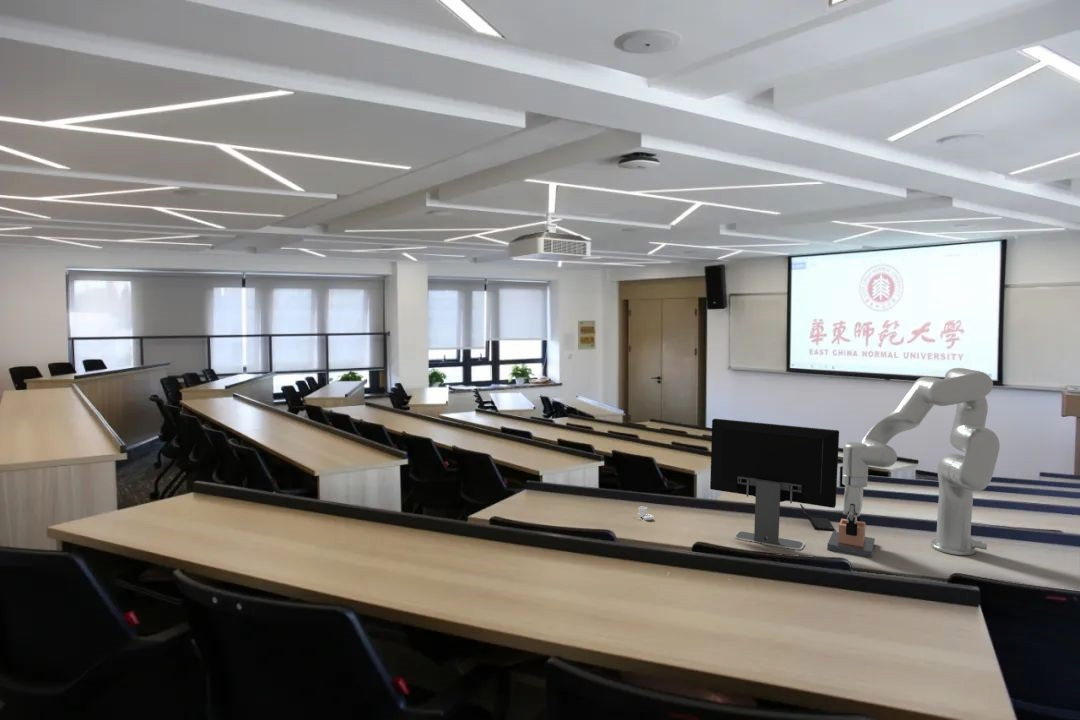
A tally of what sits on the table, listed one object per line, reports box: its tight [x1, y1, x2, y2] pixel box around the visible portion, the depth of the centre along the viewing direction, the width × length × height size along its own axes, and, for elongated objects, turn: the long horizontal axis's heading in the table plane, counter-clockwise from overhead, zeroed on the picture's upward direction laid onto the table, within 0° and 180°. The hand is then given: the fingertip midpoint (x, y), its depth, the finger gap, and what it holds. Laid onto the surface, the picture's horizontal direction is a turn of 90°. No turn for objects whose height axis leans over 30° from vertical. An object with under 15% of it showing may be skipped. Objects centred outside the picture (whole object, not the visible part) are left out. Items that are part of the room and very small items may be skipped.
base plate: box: [826, 530, 876, 558], centre depth 221 cm, size 13×14×7 cm
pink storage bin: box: [838, 518, 867, 547], centre depth 221 cm, size 7×7×6 cm
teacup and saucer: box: [638, 505, 654, 521], centre depth 250 cm, size 9×8×4 cm
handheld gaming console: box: [799, 503, 835, 532], centre depth 243 cm, size 13×8×11 cm
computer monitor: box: [709, 418, 840, 551], centre depth 225 cm, size 41×8×40 cm, turn 59°
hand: (852, 530), depth 221 cm, fingers open, 9 cm apart
